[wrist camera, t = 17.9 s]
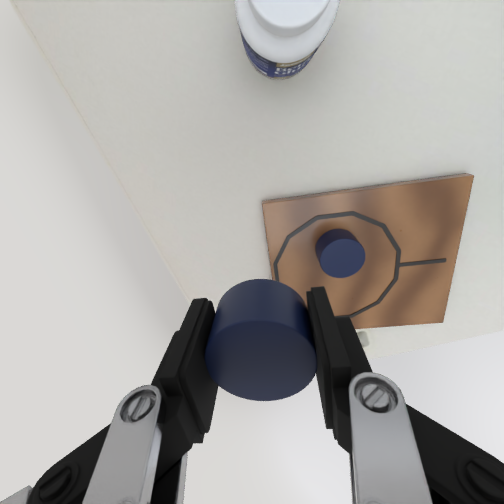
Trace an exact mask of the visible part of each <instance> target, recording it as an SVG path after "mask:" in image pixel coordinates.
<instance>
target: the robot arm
mask: <svg viewBox="0 0 504 504" xmlns="http://www.w3.org/2000/svg"><path fill="white" fill-rule="evenodd" d="M306 297H307V308H308V314H309V319H310V324H311V329H312V334H313V339H314V344H315V349H316V355H317V371H316V376H317V381H318V386H319V392H320V397H321V402H322V408H323V413H324V419H325V424H326V428H327V429H333V434H334V438H335V440H337V441H338V444H339V445H340V446H341V447H342V448H343V449H345V450H346V451H347V452H348V453H349V460H350V476H351V491H352V504H504V463H502V462H501V461H499V460H498V459H496V458H495V457H494V456H492V455H490V454H489V453H487V452H485V451H483V450H482V449H480V448H479V447H477V446H475V445H474V444H472V443H470V442H469V441H467V440H465V439H464V438H462V437H460V436H459V435H457V434H455V433H454V432H452V431H450V430H449V429H447V428H445V427H444V426H442V425H440V424H439V423H437V422H435V421H434V420H432V419H430V418H429V417H427V416H426V415H424V414H422V413H420V412H419V411H417V410H415V409H414V408H412V407H411V406H409V405H407V404H406V403H405V400H404V397H403V394H402V392H401V390H400V389H399V387H398V386H397V385H396V384H395V383H394V382H393V381H392V380H390V379H389V378H387V377H385V376H383V375H381V374H377V373H373V372H372V369H371V367H370V365H369V362H368V360H367V357H366V355H365V352H364V350H363V348H362V345H361V343H360V340H359V338H358V336H357V333H356V331H355V328H354V326H353V324H352V321H351V319H350V317H349V316H346V317H335V316H334V313H333V310H332V307H331V305H330V302H329V299H328V296H327V293H326V290H325V287H324V286H320V287H311V291H306ZM214 317H215V311H214V307H213V303H212V301H208V299H207V298H200V299H193V301H192V303H191V305H190V307H189V310H188V312H187V314H186V317H185V319H184V321H183V323H182V325H181V328H180V330H179V331H176V332H175V333H174V335H173V337H172V339H171V342H170V344H169V346H168V348H167V350H166V353H165V355H164V357H163V359H162V361H161V363H160V366H159V368H158V370H157V372H156V374H155V376H154V379H153V381H152V383H151V385H144V386H141V387H138V388H136V389H135V390H133V391H131V392H130V393H129V394H127V395H126V396H125V397H124V398H123V400H122V401H121V402H120V404H119V405H118V407H117V409H116V412H115V414H114V417H113V420H112V423H111V424H109V425H108V426H107V427H105V428H104V429H102V430H101V431H100V432H98V433H97V434H96V435H94V436H93V437H91V438H90V439H89V440H87V441H86V442H85V443H84V444H82V445H81V446H79V447H78V448H76V449H75V450H73V451H72V452H71V453H69V454H68V455H67V456H65V457H64V458H63V459H61V460H60V461H58V462H57V463H56V464H54V465H53V466H52V467H51V468H50V469H49V470H47V471H46V472H45V473H44V474H43V476H42V477H41V478H40V479H39V480H38V482H37V483H36V485H35V486H34V487H33V488H32V487H31V486H27V487H25V488H24V489H22V490H20V491H19V492H17V493H15V494H13V495H12V496H10V497H8V498H6V499H5V500H3V501H1V502H0V504H183V500H184V489H185V477H186V466H187V452H188V451H189V450H190V449H191V448H192V445H193V443H203V438H204V434H205V433H208V432H209V430H210V425H211V420H212V415H213V410H214V405H215V400H216V395H217V390H218V385H217V384H216V383H215V382H214V381H213V379H212V378H211V377H210V375H209V372H208V369H207V366H206V363H205V359H204V353H205V349H206V345H207V342H208V338H209V335H210V331H211V328H212V324H213V321H214Z"/></svg>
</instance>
